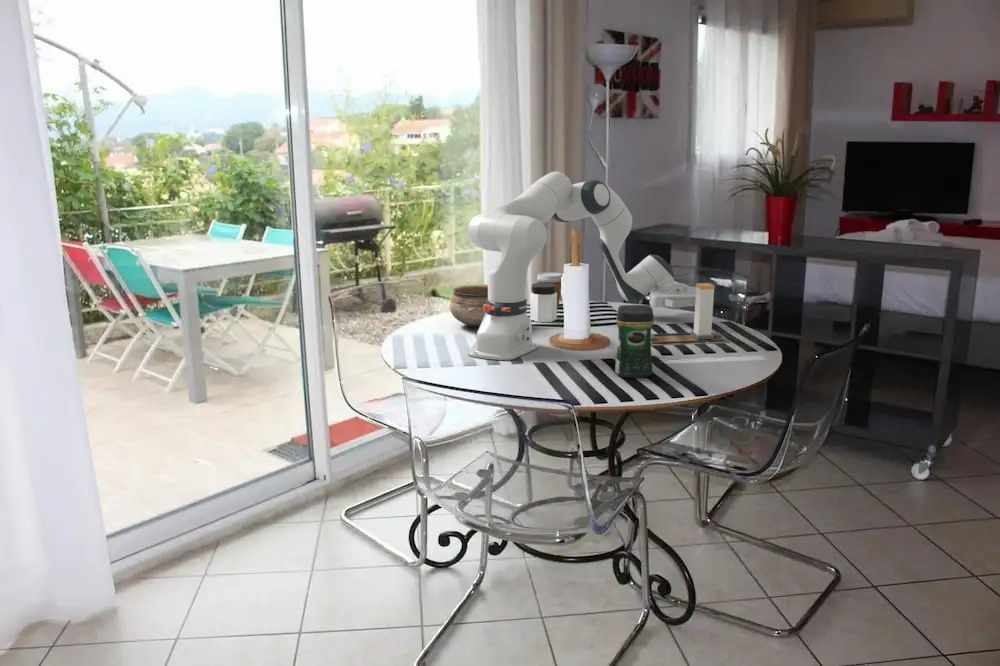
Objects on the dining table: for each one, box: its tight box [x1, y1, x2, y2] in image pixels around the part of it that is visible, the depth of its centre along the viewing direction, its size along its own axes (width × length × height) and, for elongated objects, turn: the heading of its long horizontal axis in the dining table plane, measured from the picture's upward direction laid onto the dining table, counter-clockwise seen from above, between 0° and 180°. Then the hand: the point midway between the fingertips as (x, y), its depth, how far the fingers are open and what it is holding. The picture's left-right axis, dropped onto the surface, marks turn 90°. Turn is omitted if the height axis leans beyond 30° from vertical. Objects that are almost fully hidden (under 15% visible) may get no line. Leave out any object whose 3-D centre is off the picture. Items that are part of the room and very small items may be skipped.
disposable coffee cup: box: [536, 271, 563, 308], centre depth 290 cm, size 10×10×12 cm
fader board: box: [651, 331, 732, 347], centre depth 242 cm, size 26×13×2 cm, turn 97°
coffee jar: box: [614, 304, 655, 379], centre depth 209 cm, size 10×8×19 cm
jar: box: [529, 282, 558, 323], centre depth 270 cm, size 9×8×12 cm
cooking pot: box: [449, 284, 488, 330], centre depth 262 cm, size 25×19×12 cm
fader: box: [690, 282, 716, 339], centre depth 241 cm, size 5×6×16 cm
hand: (688, 304), depth 253 cm, fingers open, 8 cm apart
